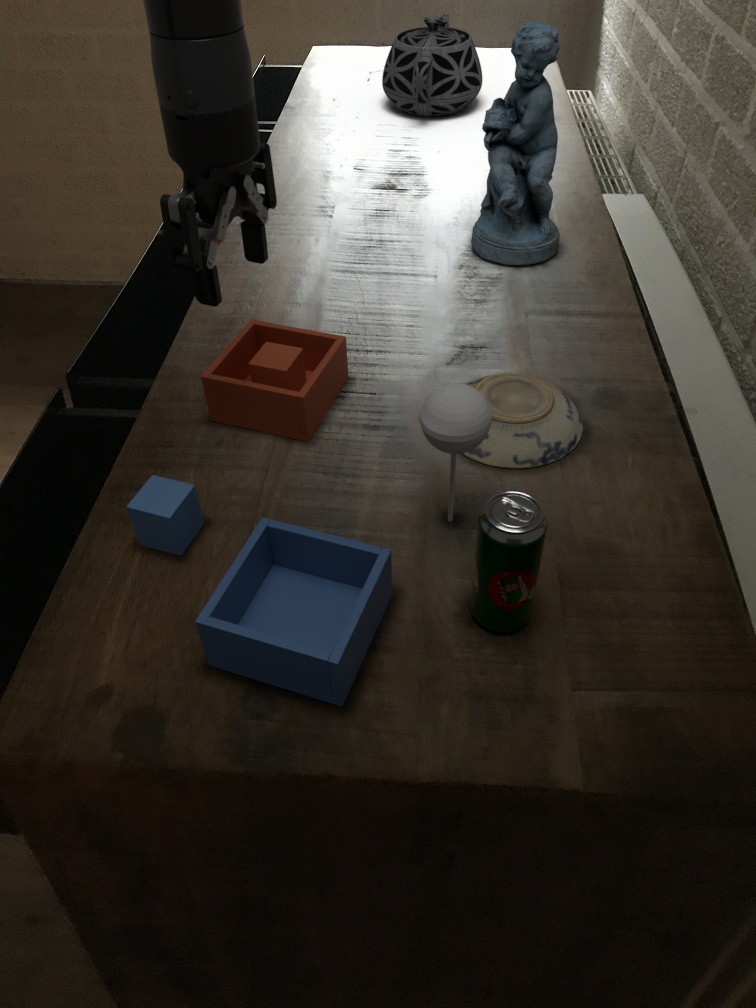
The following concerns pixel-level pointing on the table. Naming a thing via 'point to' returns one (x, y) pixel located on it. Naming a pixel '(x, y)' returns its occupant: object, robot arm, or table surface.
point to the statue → (521, 158)
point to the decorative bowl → (526, 422)
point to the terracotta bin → (270, 405)
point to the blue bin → (297, 610)
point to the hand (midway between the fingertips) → (234, 281)
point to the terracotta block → (279, 366)
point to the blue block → (166, 515)
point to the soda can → (507, 560)
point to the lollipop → (455, 424)
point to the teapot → (432, 69)
